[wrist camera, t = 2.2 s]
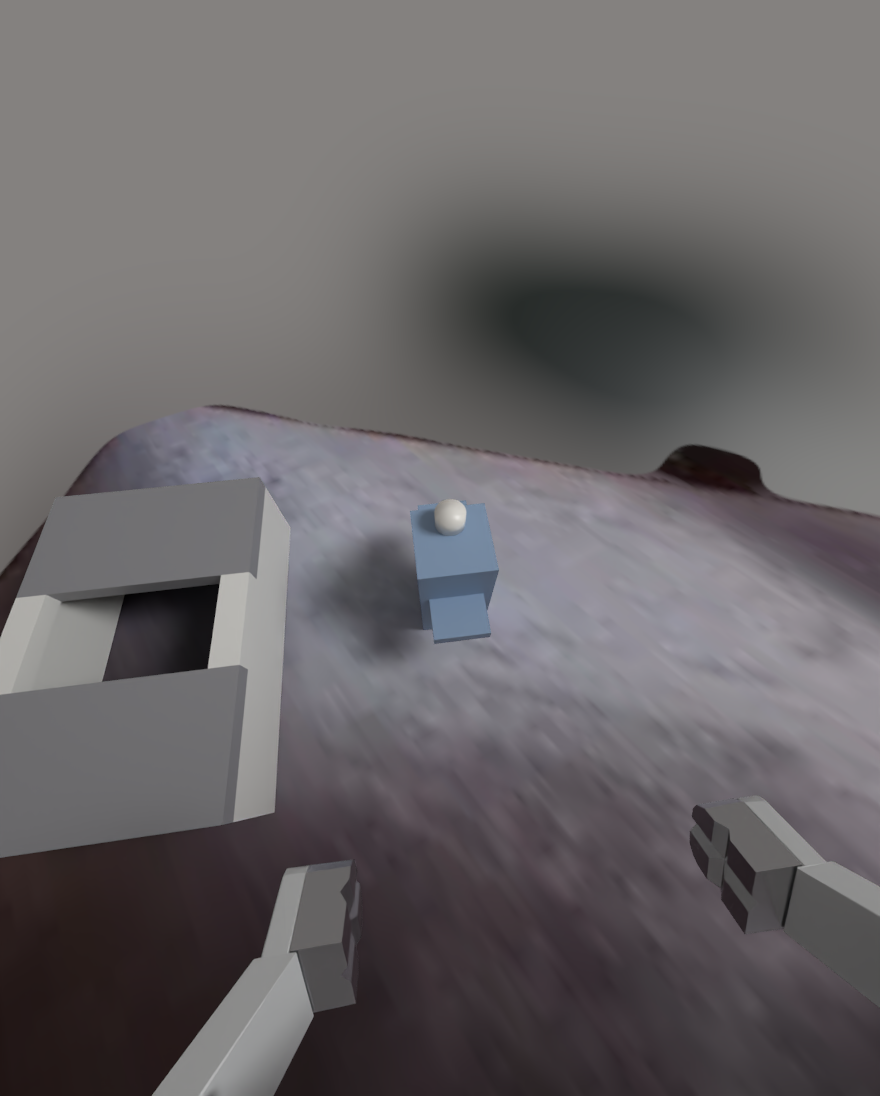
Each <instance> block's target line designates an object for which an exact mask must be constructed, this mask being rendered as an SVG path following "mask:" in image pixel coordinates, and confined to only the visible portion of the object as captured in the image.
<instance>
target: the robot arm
mask: <svg viewBox="0 0 880 1096" xmlns="http://www.w3.org/2000/svg"><path fill="white" fill-rule="evenodd" d="M692 818H693V819H694V820H695V822H696V823H697V824H696V825H695V826H694V827H693V829H692V830H691V831H690V845H691V849H692V852H693V856H694V858H695V860H696V862H697V864H698V866H699V867H700V869H701V870H702V872H703V873H704V875H705V877H706V878H707V879H708V880H710V881H711V882H713V883H714V884H716V885H717V886H718V887H720V888H721V900H722V902H723V903H724V904H725V906H726V907H727V909H728V910H729V912H730V913H731V915H732V916H733V918H734V919H735V920H736V922H737V923H738V925H739V926H740V928H741V929H742V931H743V932H744V934H750V933H757V932H764V931H771V930H778V929H784V932H785V933H786V934H787V935H789V936H790V937H791V938H792V939H794V940H795V941H796V942H797V943H799V944H800V945H801V946H802V947H804V948H805V949H806V950H807V951H809V952H810V953H811V954H813V955H814V956H815V957H816V958H818V959H819V960H820V961H821V962H823V963H824V964H825V965H826V966H828V967H829V968H830V969H831V970H833V971H834V972H835V973H836V974H838V975H839V976H840V977H841V978H843V979H844V980H845V981H846V982H848V983H849V984H850V985H852V986H853V987H854V988H855V989H857V990H858V991H859V992H860V993H862V994H863V995H864V996H865V997H867V998H868V999H869V1000H870V1001H872V1002H873V1003H874V1004H875V1005H877V1006H878V1007H879V1008H880V887H879V886H877V885H876V884H874V883H872V882H870V881H868V880H866V879H865V878H863V877H861V876H859V875H857V874H855V873H854V872H852V871H850V870H848V869H846V868H844V867H843V866H841V865H839V864H837V863H835V862H833V861H831V862H826V861H825V860H824V859H823V858H822V857H821V856H820V855H819V854H818V853H817V852H816V851H815V850H814V849H813V848H812V847H811V846H810V845H809V844H808V843H807V842H806V841H805V840H804V839H803V838H802V837H801V836H800V835H799V834H798V833H797V832H796V831H795V830H794V829H793V828H792V827H791V826H790V825H789V824H788V823H787V822H786V821H785V820H784V819H783V818H782V817H781V816H780V815H779V814H778V813H777V812H776V811H775V810H774V809H773V808H772V807H771V806H770V805H769V804H768V803H767V802H766V801H765V800H764V799H763V798H761V797H759V796H758V795H756V796H748V797H743V798H737V799H734V798H732V799H726V800H721V801H715V802H709V803H704V804H698V805H696V806H695V807H694V808H693V812H692ZM356 876H357V867H356V863H355V859H353V860H346V861H338V862H330V863H323V864H315V865H307V866H300V867H294V868H287V870H286V871H285V873H284V875H283V877H282V881H281V884H280V888H279V892H278V896H277V899H276V903H275V907H274V911H273V914H272V918H271V922H270V925H269V929H268V933H267V937H266V940H265V944H264V948H263V952H262V955H261V958H256V959H253V961H252V962H251V963H250V965H249V966H248V967H247V969H246V970H245V971H244V973H243V974H242V975H241V977H240V978H239V979H238V981H237V982H236V983H235V985H234V986H233V987H232V989H231V990H230V991H229V993H228V994H227V995H226V997H225V998H224V999H223V1001H222V1002H221V1003H220V1005H219V1006H218V1008H217V1009H216V1010H215V1012H214V1013H213V1014H212V1016H211V1017H210V1018H209V1020H208V1021H207V1022H206V1024H205V1025H204V1026H203V1028H202V1029H201V1030H200V1032H199V1033H198V1034H197V1036H196V1037H195V1038H194V1040H193V1041H192V1042H191V1044H190V1045H189V1046H188V1048H187V1049H186V1050H185V1052H184V1053H183V1054H182V1056H181V1057H180V1058H179V1060H178V1061H177V1062H176V1064H175V1065H174V1066H173V1068H172V1069H171V1070H170V1072H169V1073H168V1075H167V1076H166V1077H165V1079H164V1080H163V1081H162V1083H161V1084H160V1085H159V1087H158V1088H157V1089H156V1091H155V1092H154V1093H153V1095H152V1096H274V1094H275V1092H276V1090H277V1088H278V1086H279V1084H280V1082H281V1080H282V1078H283V1076H284V1074H285V1072H286V1070H287V1068H288V1066H289V1064H290V1062H291V1060H292V1058H293V1056H294V1054H295V1052H296V1050H297V1048H298V1046H299V1045H300V1043H301V1041H302V1039H303V1037H304V1035H305V1033H306V1031H307V1029H308V1027H309V1025H310V1023H311V1021H312V1019H313V1017H314V1015H313V1013H314V1012H319V1011H324V1010H328V1009H333V1008H337V1007H342V1006H347V1005H351V1004H356V996H357V984H358V972H359V958H358V953H357V948H356V945H357V943H358V941H359V940H360V938H361V934H362V893H361V887H360V884H359V883H358V882H356Z"/></svg>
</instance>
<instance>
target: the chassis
mask: <svg viewBox="0 0 880 1096" xmlns="http://www.w3.org/2000/svg"><path fill="white" fill-rule="evenodd" d="M290 530H291V528H290V526H289V525H288V523H287V521H286V520H285V518H284V517H283V515H282V513H281V512H280V510H279V508H278V507H277V505H276V504H275V502H274V500H273V499H272V497H271V495H270V494H269V492H268V490H267V489H266V487H265V486H264V484H263V482H262V481H261V479H260V477H258V478H248V479H238V480H228V481H217V482H207V483H197V484H187V485H177V486H167V487H157V488H146V489H136V490H126V491H116V492H106V493H96V494H86V495H76V496H65V497H56V498H55V501H54V503H53V506H52V508H51V511H50V513H49V516H48V518H47V521H46V523H45V526H44V528H43V531H42V533H41V536H40V539H39V541H38V544H37V546H36V549H35V551H34V554H33V556H32V559H31V561H30V564H29V566H28V569H27V571H26V574H25V577H24V579H23V582H22V584H21V587H20V589H19V592H18V594H17V597H16V599H15V602H14V604H13V607H12V609H11V612H10V615H9V617H8V620H7V622H6V625H5V627H4V630H3V632H2V635H1V637H0V858H2V857H8V856H15V855H22V854H29V853H36V852H42V851H49V850H56V849H63V848H70V847H76V846H83V845H90V844H97V843H104V842H110V841H117V840H124V839H131V838H137V837H144V836H151V835H158V834H165V833H171V832H178V831H185V830H192V829H199V828H205V827H212V826H219V825H224V824H229V823H233V822H237V821H241V820H245V819H249V818H253V817H258V816H262V815H266V814H270V813H274V812H275V796H276V778H277V760H278V743H279V725H280V707H281V690H282V672H283V654H284V636H285V619H286V601H287V583H288V566H289V548H290ZM213 584H220V586H219V593H218V600H217V607H216V614H215V621H214V628H213V635H212V642H211V649H210V656H209V663H208V669H202V670H194V671H186V672H178V673H170V674H162V675H154V676H146V677H138V678H130V679H122V680H114V681H106V682H102V680H103V676H104V672H105V668H106V665H107V661H108V657H109V653H110V649H111V645H112V642H113V638H114V634H115V630H116V626H117V622H118V618H119V615H120V611H121V607H122V603H123V599H124V595H125V594H133V593H142V592H151V591H160V590H169V589H178V588H186V587H195V586H204V585H213Z"/></svg>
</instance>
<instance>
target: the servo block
mask: <svg viewBox="0 0 880 1096" xmlns="http://www.w3.org/2000/svg"><path fill="white" fill-rule="evenodd" d="M410 515H411V524H412V533H413V543H414V552H415V561H416V570H417V579H418V588H419V596H420V604H421V613H422V621H423V630H428V629H433V637H434V644H437V643H445V642H453V641H461V640H469V639H477V638H485V637H490V635H491V630H490V624H489V619H488V614H487V610H488V606H489V603H490V599H491V596H492V592H493V589H494V585H495V582H496V578H497V575H498V571H499V568H498V564H497V559H496V555H495V550H494V545H493V541H492V536H491V532H490V527H489V522H488V518H487V513H486V508H485V504H484V503H482V504H473V505H467V504H466V501H457V500H454V499H447V500H443V501H441V502H440V503H437V504H428V505H418V510H416V511H410Z"/></svg>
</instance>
